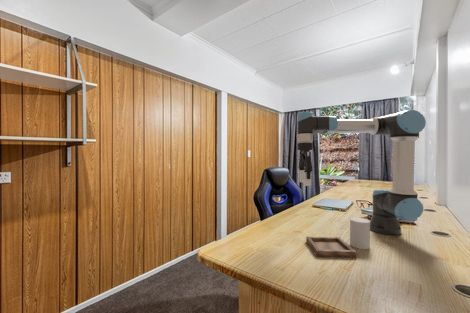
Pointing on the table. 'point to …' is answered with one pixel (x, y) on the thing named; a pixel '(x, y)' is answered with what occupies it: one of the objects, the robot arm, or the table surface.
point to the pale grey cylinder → (360, 233)
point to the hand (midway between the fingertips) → (304, 183)
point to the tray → (330, 247)
